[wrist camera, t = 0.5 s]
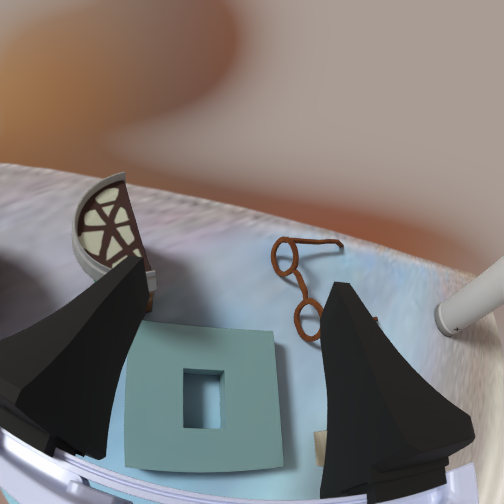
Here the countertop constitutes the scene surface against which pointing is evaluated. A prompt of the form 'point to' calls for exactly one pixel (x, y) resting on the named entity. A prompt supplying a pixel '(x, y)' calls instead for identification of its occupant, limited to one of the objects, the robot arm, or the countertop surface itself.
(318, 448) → the wood stick
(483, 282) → the travel mug
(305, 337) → the glasses
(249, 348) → the holder plate
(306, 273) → the countertop surface
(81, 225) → the food container
